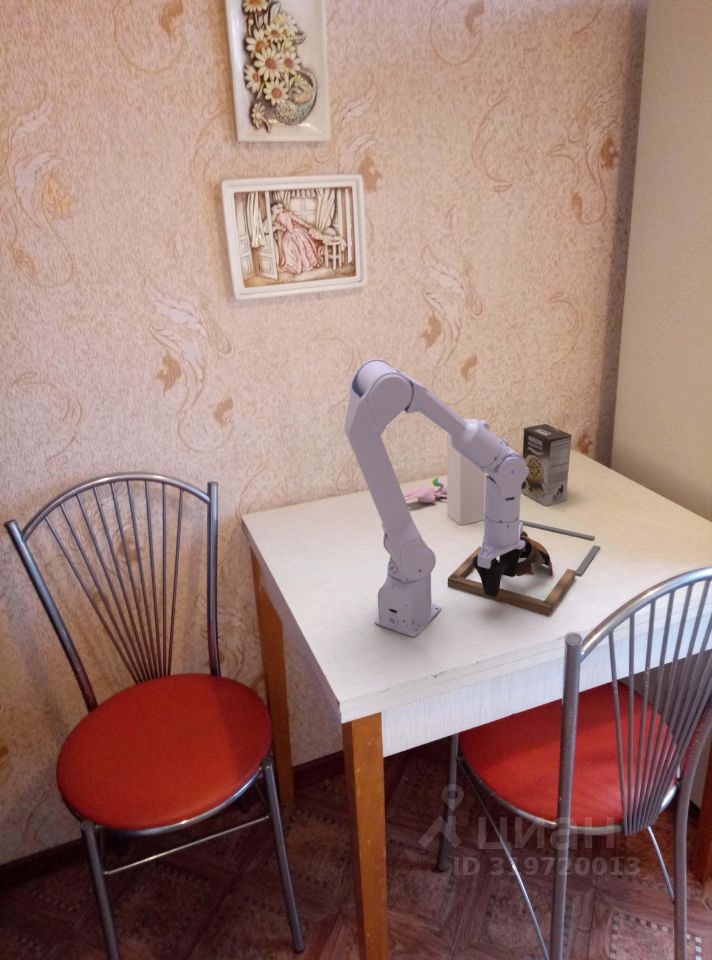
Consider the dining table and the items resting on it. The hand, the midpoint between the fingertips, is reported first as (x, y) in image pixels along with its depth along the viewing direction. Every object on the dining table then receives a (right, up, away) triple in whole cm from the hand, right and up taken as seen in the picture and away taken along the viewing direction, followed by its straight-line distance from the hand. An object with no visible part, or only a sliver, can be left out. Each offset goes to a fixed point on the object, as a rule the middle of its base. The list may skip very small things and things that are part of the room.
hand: (499, 584), depth 119 cm
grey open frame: (+12, +5, +17) cm, 22 cm away
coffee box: (+18, +14, +38) cm, 45 cm away
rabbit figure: (-8, +13, +39) cm, 42 cm away
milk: (-1, +10, +30) cm, 32 cm away
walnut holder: (+3, -1, +5) cm, 6 cm away
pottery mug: (+7, +1, +9) cm, 11 cm away
